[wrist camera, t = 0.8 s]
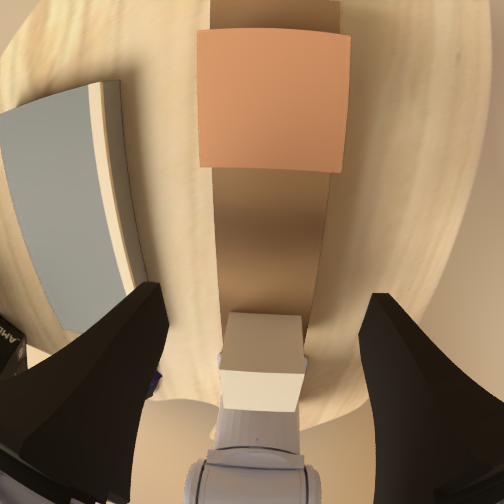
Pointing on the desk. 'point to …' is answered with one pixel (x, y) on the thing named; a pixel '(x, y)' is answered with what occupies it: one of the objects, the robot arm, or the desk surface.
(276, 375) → the beige box
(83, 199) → the dock
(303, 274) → the brown wooden bar
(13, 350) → the graphics card box
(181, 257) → the desk surface
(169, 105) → the desk surface
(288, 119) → the terracotta box
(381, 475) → the robot arm
